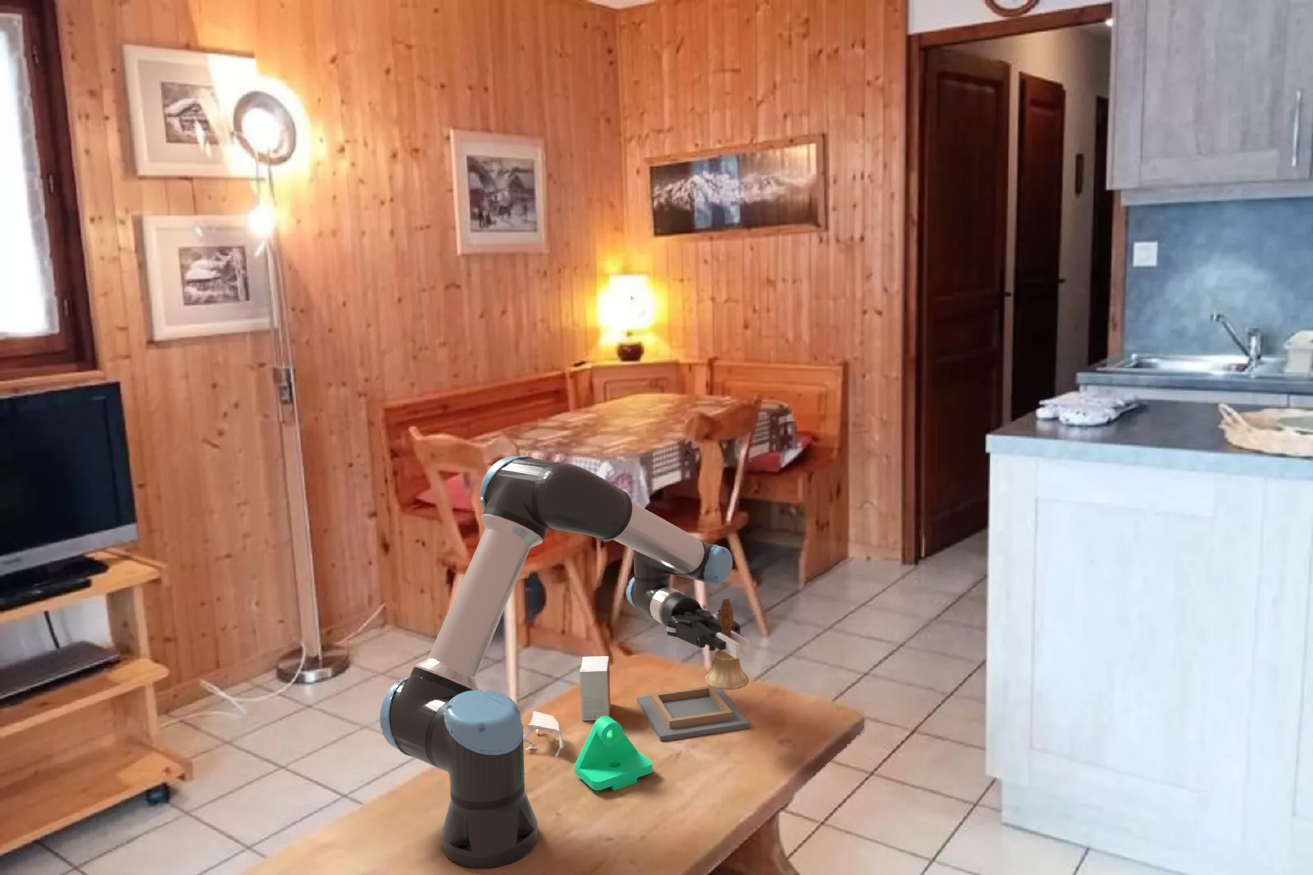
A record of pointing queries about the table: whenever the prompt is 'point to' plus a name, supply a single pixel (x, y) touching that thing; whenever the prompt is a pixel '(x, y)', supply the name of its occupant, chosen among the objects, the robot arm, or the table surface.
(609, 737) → the camera mount
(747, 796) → the table surface
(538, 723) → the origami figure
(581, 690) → the small box
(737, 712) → the bell board
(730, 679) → the hand bell
